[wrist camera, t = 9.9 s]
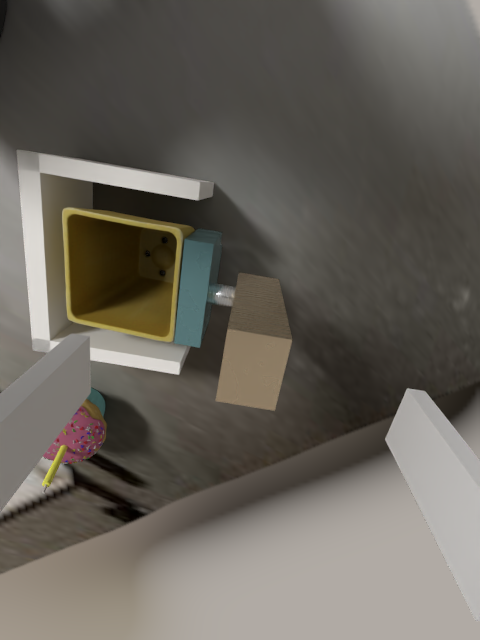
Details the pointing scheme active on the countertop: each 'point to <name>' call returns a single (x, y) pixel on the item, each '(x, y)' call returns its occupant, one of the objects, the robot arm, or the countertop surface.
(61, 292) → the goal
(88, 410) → the cupcake
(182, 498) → the countertop surface
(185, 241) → the rod
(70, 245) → the flower pot
